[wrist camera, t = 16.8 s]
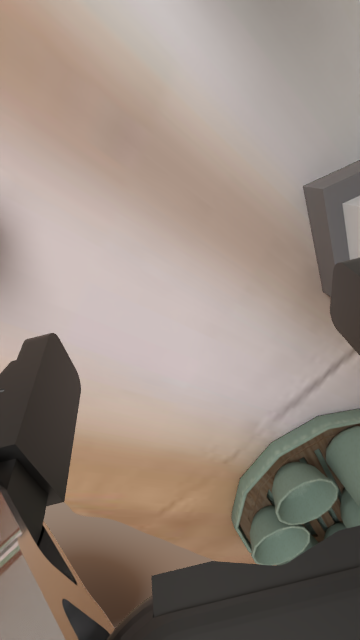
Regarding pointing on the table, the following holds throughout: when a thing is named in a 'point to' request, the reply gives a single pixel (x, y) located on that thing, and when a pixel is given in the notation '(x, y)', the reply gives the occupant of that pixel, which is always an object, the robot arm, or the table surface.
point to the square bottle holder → (335, 219)
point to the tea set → (301, 489)
